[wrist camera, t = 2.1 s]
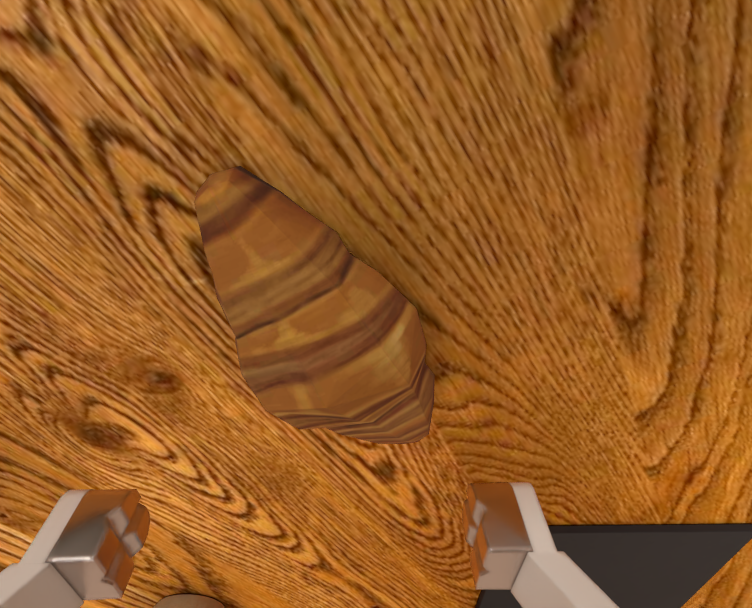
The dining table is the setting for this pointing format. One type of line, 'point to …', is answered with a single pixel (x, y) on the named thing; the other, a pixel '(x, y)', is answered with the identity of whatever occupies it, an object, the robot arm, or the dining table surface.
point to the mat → (642, 561)
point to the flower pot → (188, 602)
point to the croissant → (312, 317)
